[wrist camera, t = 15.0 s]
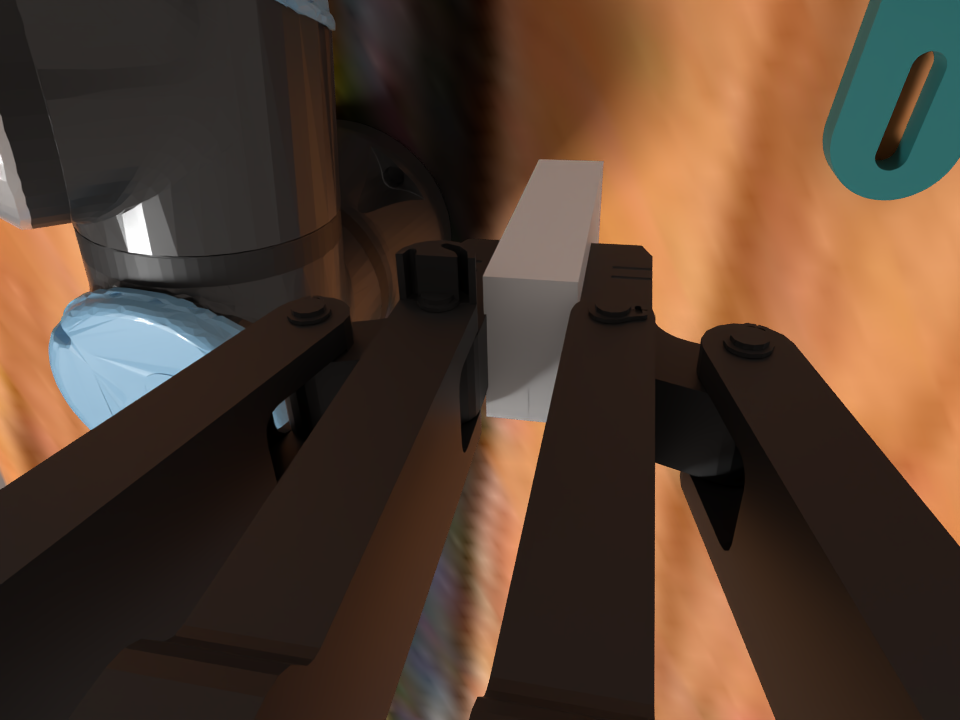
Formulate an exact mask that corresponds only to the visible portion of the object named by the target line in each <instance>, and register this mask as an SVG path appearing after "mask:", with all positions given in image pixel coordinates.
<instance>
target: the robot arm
mask: <svg viewBox="0 0 960 720" xmlns="http://www.w3.org/2000/svg"><path fill="white" fill-rule="evenodd" d="M334 30H335V21H334V18H333V16H332V15H331V14H330V13H329V6H328V0H0V218H1V219H3V220H5V221H7V222H8V223H10V224H12V225H14V226H16V227H17V228H19V229H35V228H41V227H48V226H54V225H60V224H67V223H73V226H74V229H75V233H76V237H77V240H78V244H79V248H80V251H81V255H82V259H83V263H84V267H85V270H86V274H87V277H88V281H89V286H90V292H86V293H84V294H82V295H81V296H79V297H77V298H76V299H74V300H73V301H71V302H70V303H69V304H68V305H67V307H66V308H65V310H64V313H63V316H62V318H61V321H60V322H59V324H58V325H57V326H56V327H55V328H54V329H53V331H52V333H51V337H50V342H49V360H50V366H51V370H52V373H53V376H54V379H55V381H56V384H57V386H58V388H59V390H60V391H61V393H62V395H63V397H64V399H65V400H66V402H67V403H68V405H69V406H70V407H71V409H72V410H73V411H74V413H75V414H76V415H77V416H78V417H79V418H80V420H81V421H82V422H83V423H84V424H85V425H86V426H87V427H88V428H89V429H90V431H89V432H87V433H86V434H84V435H83V436H81V437H80V438H78V439H77V440H75V441H74V442H72V443H71V444H69V445H68V446H66V447H65V448H63V449H62V450H60V451H58V452H57V453H55V454H54V455H52V456H51V457H49V458H48V459H46V460H45V461H43V462H42V463H40V464H39V465H37V466H36V467H34V468H33V469H31V470H30V471H28V472H27V473H25V474H24V475H22V476H20V477H19V478H17V479H16V480H14V481H13V482H11V483H10V484H8V485H7V486H5V487H4V488H2V489H1V490H0V720H386V718H387V715H388V712H389V709H390V706H391V703H392V700H393V697H394V694H395V691H396V688H397V685H398V682H399V679H400V676H401V673H402V670H403V667H404V664H405V661H406V658H407V655H408V652H409V649H410V646H411V643H412V640H413V637H414V634H415V631H416V628H417V625H418V622H419V619H420V616H421V613H422V610H423V607H424V604H425V601H426V598H427V595H428V592H429V589H430V586H431V583H432V580H433V577H434V574H435V571H436V568H437V565H438V562H439V559H440V556H441V553H442V550H443V547H444V544H445V541H446V538H447V535H448V531H449V528H450V525H451V522H452V519H453V516H454V513H455V510H456V507H457V504H458V501H459V498H460V495H461V492H462V489H463V486H464V483H465V480H466V477H467V474H468V471H469V468H470V465H471V462H472V459H473V456H474V453H475V450H476V447H477V444H478V441H479V438H480V435H481V406H482V403H483V401H484V398H485V395H486V407H487V417H497V418H507V419H517V420H527V421H537V422H546V425H545V430H544V434H543V439H542V443H541V448H540V453H539V457H538V462H537V466H536V471H535V475H534V480H533V484H532V489H531V493H530V498H529V503H528V507H527V512H526V516H525V521H524V525H523V530H522V534H521V539H520V544H519V548H518V553H517V557H516V562H515V566H514V571H513V575H512V580H511V584H510V589H509V594H508V598H507V603H506V607H505V612H504V616H503V621H502V625H501V630H500V634H499V639H498V644H497V648H496V653H495V657H494V662H493V666H492V671H491V675H490V679H489V683H488V687H487V690H486V693H485V695H484V696H483V697H477V699H476V702H475V704H474V706H473V708H472V711H471V714H470V718H469V720H655V716H654V622H655V463H658V464H661V465H664V466H667V467H670V468H673V469H676V470H679V471H681V472H680V482H681V487H682V490H683V492H684V495H685V497H686V500H687V502H688V505H689V507H690V510H691V512H692V515H693V517H694V519H695V522H696V524H697V527H698V529H699V532H700V534H701V537H702V539H703V542H704V544H705V547H706V549H707V552H708V554H709V556H710V559H711V561H712V564H713V566H714V569H715V571H716V574H717V576H718V579H719V581H720V584H721V586H722V589H723V591H724V593H725V596H726V598H727V601H728V603H729V606H730V608H731V611H732V613H733V616H734V618H735V621H736V623H737V626H738V628H739V630H740V633H741V635H742V638H743V640H744V643H745V645H746V648H747V650H748V653H749V655H750V658H751V660H752V662H753V665H754V667H755V670H756V672H757V675H758V677H759V680H760V682H761V685H762V687H763V690H764V692H765V695H766V697H767V699H768V702H769V704H770V707H771V709H772V712H773V714H774V717H775V719H776V720H960V546H959V545H958V544H957V543H956V541H955V540H954V539H953V538H952V536H951V535H950V534H949V533H948V532H947V530H946V529H945V528H944V527H943V525H942V524H941V523H940V522H939V521H938V519H937V518H936V517H935V516H934V514H933V513H932V512H931V511H930V509H929V508H928V507H927V506H926V505H925V503H924V502H923V501H922V500H921V498H920V497H919V496H918V495H917V494H916V492H915V491H914V490H913V489H912V487H911V486H910V485H909V484H908V483H907V481H906V480H905V479H904V478H903V476H902V475H901V474H900V473H899V471H898V470H897V469H896V468H895V467H894V465H893V464H892V463H891V462H890V460H889V459H888V458H887V457H886V456H885V454H884V453H883V452H882V451H881V449H880V448H879V447H878V446H877V445H876V443H875V442H874V441H873V440H872V438H871V437H870V436H869V435H868V434H867V432H866V431H865V430H864V429H863V427H862V426H861V425H860V424H859V422H858V421H857V420H856V419H855V418H854V416H853V415H852V414H851V413H850V411H849V410H848V409H847V408H846V407H845V405H844V404H843V403H842V402H841V400H840V399H839V398H838V397H837V396H836V394H835V393H834V392H833V391H832V389H831V388H830V387H829V386H828V384H827V383H826V382H825V381H824V380H823V378H822V377H821V376H820V375H819V373H818V372H817V371H816V370H815V369H814V367H813V366H812V365H811V364H810V362H809V361H808V360H807V359H806V358H805V356H804V355H803V354H802V353H801V351H800V350H799V349H798V348H797V347H796V345H795V344H794V343H793V342H792V341H790V340H789V339H788V338H787V337H785V336H784V335H782V334H780V333H778V332H776V331H773V330H771V329H769V328H767V327H764V326H761V325H758V326H756V324H750V323H745V324H726V325H720V326H716V327H714V328H712V329H710V330H707V331H706V332H705V334H704V335H703V337H702V338H701V344H698V343H694V342H690V341H686V340H683V339H680V338H677V337H675V336H672V335H670V334H668V333H666V332H665V331H663V330H662V329H661V328H659V327H658V326H657V324H656V323H655V315H654V312H653V310H652V256H651V255H650V254H649V253H648V252H647V251H646V250H645V249H644V248H643V246H638V245H619V244H599V243H598V242H599V226H600V210H601V194H602V178H603V162H604V161H581V160H547V159H539V160H538V163H537V165H536V167H535V169H534V171H533V173H532V175H531V177H530V179H529V181H528V183H527V185H526V187H525V190H524V192H523V194H522V196H521V198H520V200H519V202H518V204H517V206H516V208H515V210H514V212H513V214H512V217H511V219H510V221H509V223H508V225H507V227H506V229H505V231H504V233H503V235H502V237H501V239H500V240H486V239H467V240H465V241H463V242H462V243H460V242H454V241H451V226H450V220H449V215H448V211H447V208H446V205H445V202H444V199H443V197H442V195H441V192H440V190H439V188H438V186H437V185H436V183H435V181H434V179H433V178H432V176H431V175H430V173H429V172H428V171H427V169H426V168H425V167H424V165H423V164H422V163H421V162H420V161H419V160H418V159H417V158H416V157H415V156H414V155H413V154H412V153H411V152H410V151H409V150H408V149H407V148H406V147H404V146H403V145H402V144H400V143H399V142H398V141H396V140H395V139H393V138H392V137H390V136H389V135H387V134H385V133H383V132H381V131H379V130H377V129H375V128H372V127H370V126H367V125H364V124H361V123H357V122H353V121H347V120H338V119H336V104H335V85H334V65H333V46H332V31H334Z"/></svg>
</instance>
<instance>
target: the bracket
mask: <svg viewBox="0 0 960 720" xmlns="http://www.w3.org/2000/svg"><path fill="white" fill-rule="evenodd" d="M929 51H933V54H934V62H933V65H932V67H931V70H930V72H929V74H928V77H927V79H926V81H925V84H924V86H923V89H922V91H921V93H920V96H919V98H918V100H917V103H916V105H915V107H914V110H913V112H912V115H911V117H910V119H909V122H908V124H907V126H906V129H905V131H904V134H903V136H902V138H901V141H900V143H899V145H898V148H897V150H896V151H895V153H894V154H893V155H892V156H890V157H889V158H887V159H884V160H875V155H876V152H877V150H878V147H879V145H880V142H881V140H882V137H883V135H884V132H885V130H886V128H887V125H888V123H889V120H890V118H891V115H892V113H893V110H894V108H895V105H896V103H897V100H898V98H899V96H900V93H901V91H902V88H903V86H904V83H905V81H906V78H907V76H908V73H909V71H910V69H911V66H912V64H913V62H914V61H915V60H916V59H917V58H918V57H919V56H920V55H922V54H924V53H926V52H929ZM823 150H824V154H825V158H826V160H827V162H828V164H829V166H830V168H831V169H832V171H833V172H834V173H835V175H836V176H837V178H838V179H839V180H840V181H841V183H842V184H843V185H844V186H845V187H846V188H848V189H849V190H850V191H852V192H854V193H855V194H857V195H860V196H862V197H865V198H869V199H874V200H894V199H900V198H905V197H908V196H911V195H914V194H916V193H919V192H921V191H923V190H925V189H927V188H928V187H930V186H932V185H933V184H935V183H936V182H937V181H939V180H940V179H941V178H942V177H943V176H945V175H946V174H947V173H948V172H949V171H950V170H951V168H952V167H953V166H954V165H955V163H956V162H957V161H958V159H959V158H960V0H870V2H869V4H868V7H867V10H866V13H865V15H864V18H863V21H862V24H861V27H860V29H859V32H858V35H857V38H856V40H855V43H854V46H853V49H852V52H851V54H850V57H849V60H848V63H847V66H846V68H845V71H844V74H843V77H842V79H841V82H840V85H839V88H838V91H837V93H836V96H835V99H834V102H833V104H832V107H831V110H830V113H829V116H828V118H827V121H826V124H825V128H824V133H823Z"/></svg>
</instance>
